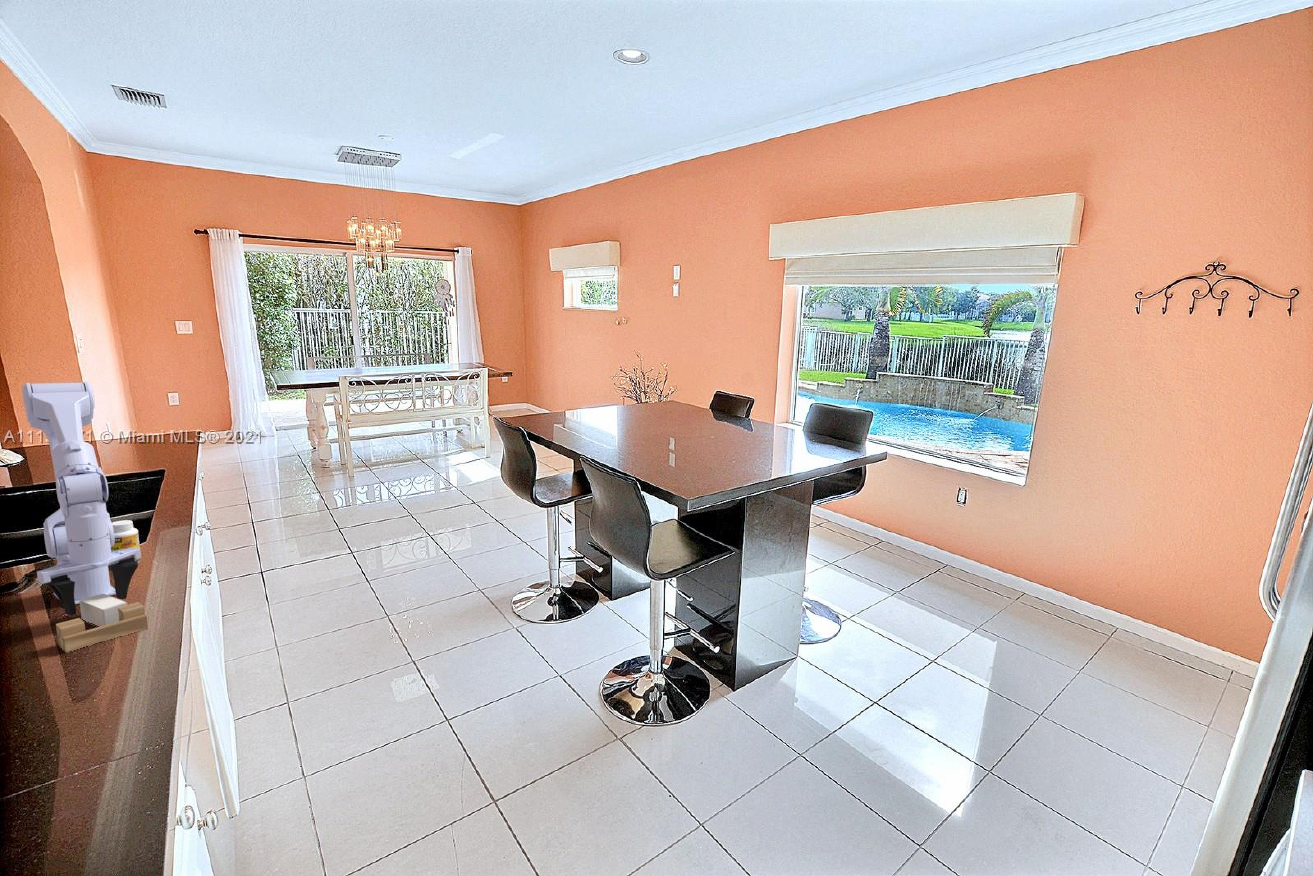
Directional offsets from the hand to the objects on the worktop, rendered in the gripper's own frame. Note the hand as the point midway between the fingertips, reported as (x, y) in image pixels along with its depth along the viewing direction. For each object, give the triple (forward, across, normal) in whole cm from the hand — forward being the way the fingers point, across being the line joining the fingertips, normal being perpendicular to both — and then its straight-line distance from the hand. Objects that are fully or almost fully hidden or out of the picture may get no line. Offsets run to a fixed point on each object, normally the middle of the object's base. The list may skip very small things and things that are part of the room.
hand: (97, 605), depth 113 cm
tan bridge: (+3, -3, -9) cm, 10 cm away
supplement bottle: (+3, +16, +27) cm, 32 cm away
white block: (+3, 0, -2) cm, 3 cm away
